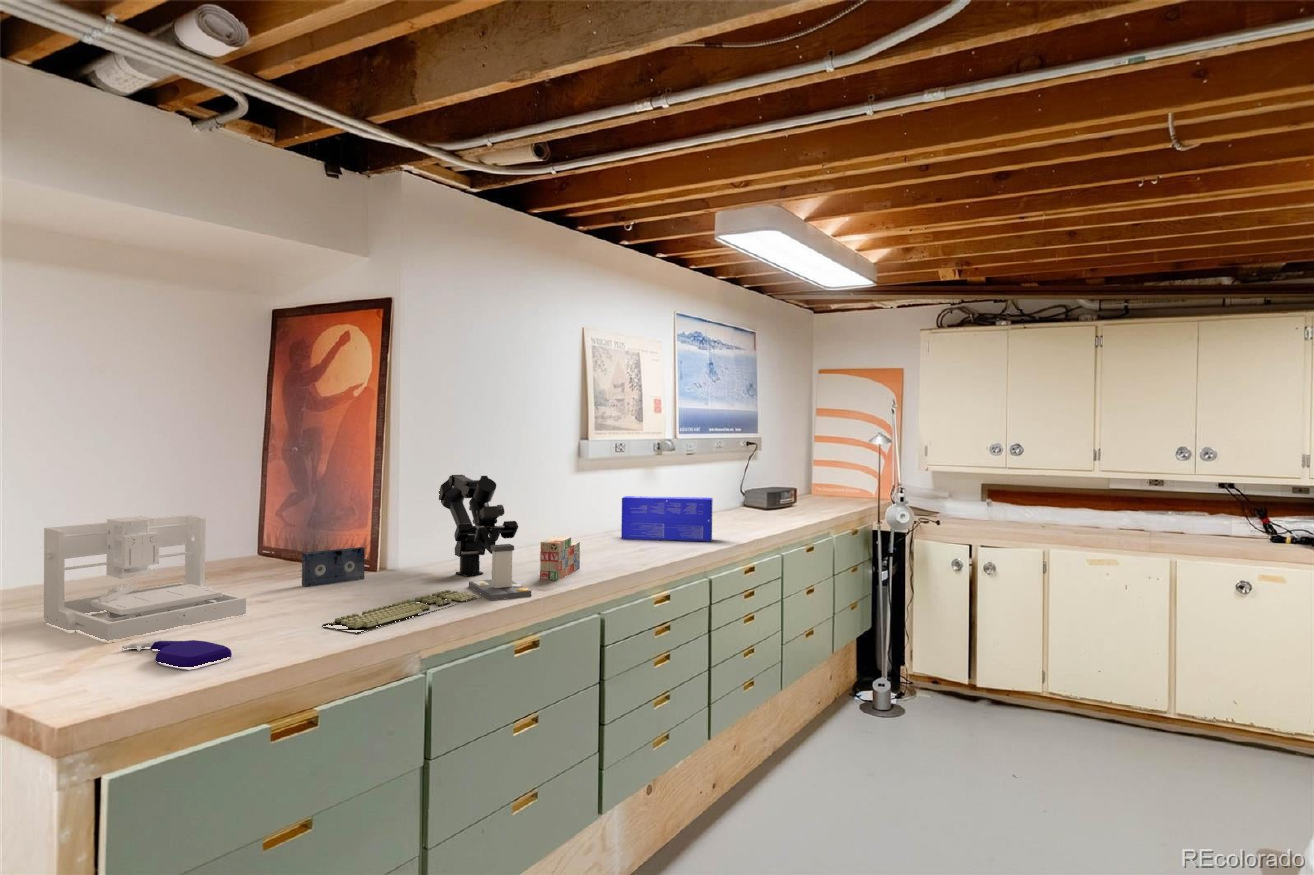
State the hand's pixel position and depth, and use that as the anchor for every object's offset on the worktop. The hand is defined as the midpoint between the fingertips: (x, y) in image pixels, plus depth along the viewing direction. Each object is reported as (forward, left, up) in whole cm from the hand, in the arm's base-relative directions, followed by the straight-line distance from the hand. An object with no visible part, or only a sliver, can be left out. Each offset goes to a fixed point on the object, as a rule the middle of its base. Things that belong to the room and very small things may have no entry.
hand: (492, 553), depth 233 cm
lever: (+8, -2, -8) cm, 12 cm away
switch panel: (+6, -2, -10) cm, 12 cm away
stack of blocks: (-2, +29, -11) cm, 31 cm away
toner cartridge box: (-27, +112, -11) cm, 115 cm away
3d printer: (-28, -82, -11) cm, 88 cm away
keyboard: (+7, -33, -11) cm, 36 cm away
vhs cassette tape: (-38, -30, -11) cm, 50 cm away
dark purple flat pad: (+9, -87, -11) cm, 88 cm away
